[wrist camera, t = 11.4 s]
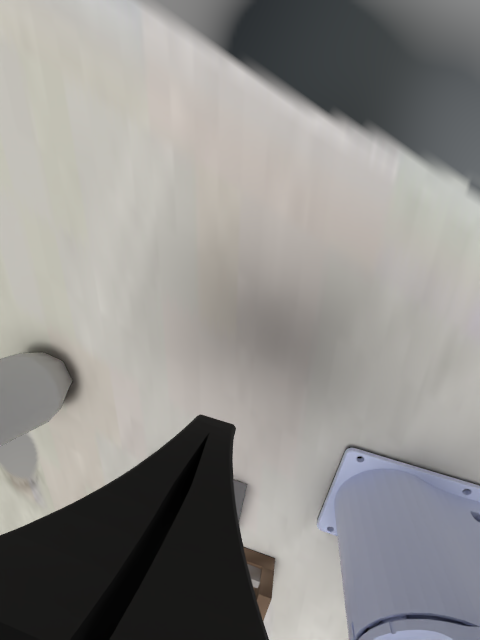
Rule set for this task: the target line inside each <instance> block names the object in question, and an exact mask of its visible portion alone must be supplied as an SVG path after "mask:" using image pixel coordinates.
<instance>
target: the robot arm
mask: <svg viewBox="0 0 480 640" xmlns="http://www.w3.org/2000/svg"><path fill="white" fill-rule="evenodd" d="M235 430H236V428H235V426H234V425H233V424H230V423H227V422H223V421H220V420H217V419H213V418H210V417H207V416H204V415H199V416H197V417H196V418H195V419H194V420H193V421H192V422H191V423H190V424H189V425H187V426H186V427H185V428H184V429H183V430H182V431H181V432H180V433H178V434H177V435H176V436H175V437H174V438H173V439H171V440H170V441H169V442H168V443H166V444H165V445H164V446H163V447H161V448H160V449H159V450H158V451H156V452H155V453H154V454H152V455H151V456H149V457H148V458H147V459H145V460H144V461H142V462H141V463H140V464H138V465H137V466H135V467H134V468H133V469H131V470H129V471H128V472H126V473H125V474H123V475H122V476H120V477H119V478H117V479H115V480H114V481H112V482H110V483H109V484H107V485H105V486H104V487H102V488H100V489H98V490H96V491H95V492H93V493H91V494H89V495H87V496H85V497H84V498H82V499H80V500H78V501H76V502H74V503H72V504H70V505H68V506H66V507H64V508H62V509H60V510H58V511H55V512H53V513H51V514H49V515H47V516H45V517H42V518H40V519H38V520H36V521H34V522H31V523H29V524H27V525H25V526H23V527H20V528H18V529H15V530H13V531H10V532H8V533H5V534H3V535H0V640H269V639H268V636H267V633H266V629H265V626H264V623H263V620H262V616H261V613H260V610H259V606H258V603H257V600H256V596H255V592H254V588H253V584H252V580H251V577H250V573H249V569H248V565H247V561H246V557H245V553H244V548H243V543H242V538H241V533H240V528H239V522H238V516H237V509H236V502H235V493H234V482H233V463H232V453H233V439H234V434H235ZM359 456H362V458H357V457H359ZM464 489H467V490H464ZM329 526H330V527H329ZM317 527H318V528H319V529H320V530H321V531H324V532H327V533H330V534H333V535H336V536H338V545H339V554H340V563H341V572H342V581H343V590H344V599H345V608H346V617H347V626H348V635H349V640H480V486H479V485H476V484H472V483H469V482H466V481H462V480H459V479H456V478H452V477H449V476H446V475H442V474H439V473H436V472H432V471H429V470H426V469H422V468H419V467H416V466H412V465H409V464H406V463H402V462H399V461H396V460H393V459H389V458H386V457H383V456H379V455H376V454H373V453H369V452H366V451H363V450H359V449H356V448H348V449H347V450H346V451H345V453H344V456H343V458H342V461H341V463H340V465H339V468H338V470H337V473H336V475H335V478H334V480H333V483H332V485H331V488H330V490H329V493H328V495H327V498H326V500H325V503H324V505H323V508H322V510H321V513H320V515H319V518H318V520H317Z"/></svg>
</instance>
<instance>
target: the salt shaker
mask: <svg viewBox="0 0 480 640" xmlns="http://www.w3.org/2000/svg"><path fill="white" fill-rule="evenodd" d="M71 383H72V379H71V377H70V375H69V373H68V371H67V369H66V367H65V364H64V362H63V361H61V360H59V359H57V358H55V357H53V356H50V355H48V354H46V353H44V352H39V353H19V354H16V355H12V356H8V357H5V358H2V359H0V446H2V445H4V444H6V443H8V442H10V441H12V440H14V439H16V438H18V437H20V436H22V435H24V434H26V433H28V432H29V431H31V430H33V429H35V428H37V427H39V426H41V425H43V424H45V423H47V422H49V421H50V419H51V418H52V417H53V416H54V415H55V414H56V413H57V412H58V411H59V410H60V409H61V407H62V404H63V402H64V399H65V397H66V394H67V392H68V389H69V387H70V385H71Z"/></svg>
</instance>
